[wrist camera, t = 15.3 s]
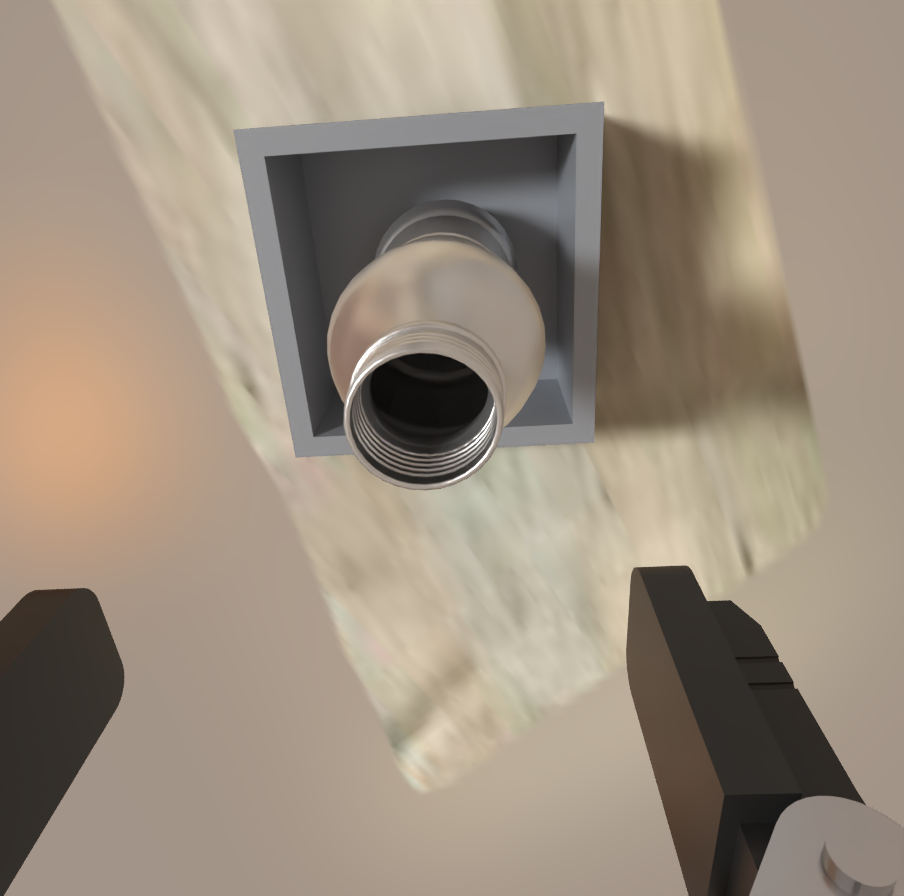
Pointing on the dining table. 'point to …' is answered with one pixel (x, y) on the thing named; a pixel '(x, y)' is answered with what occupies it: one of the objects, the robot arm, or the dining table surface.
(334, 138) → the box
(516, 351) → the plastic bottle
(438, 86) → the dining table surface
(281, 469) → the dining table surface
